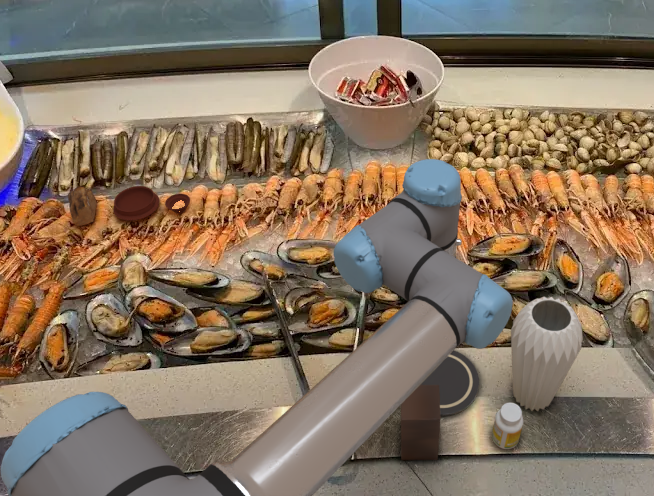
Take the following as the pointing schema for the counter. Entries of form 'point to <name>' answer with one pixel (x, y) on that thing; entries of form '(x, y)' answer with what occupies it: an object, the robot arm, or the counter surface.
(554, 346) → the vase
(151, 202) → the pottery
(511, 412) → the supplement bottle
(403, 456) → the stand
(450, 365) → the round coaster
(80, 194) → the decorative rock
